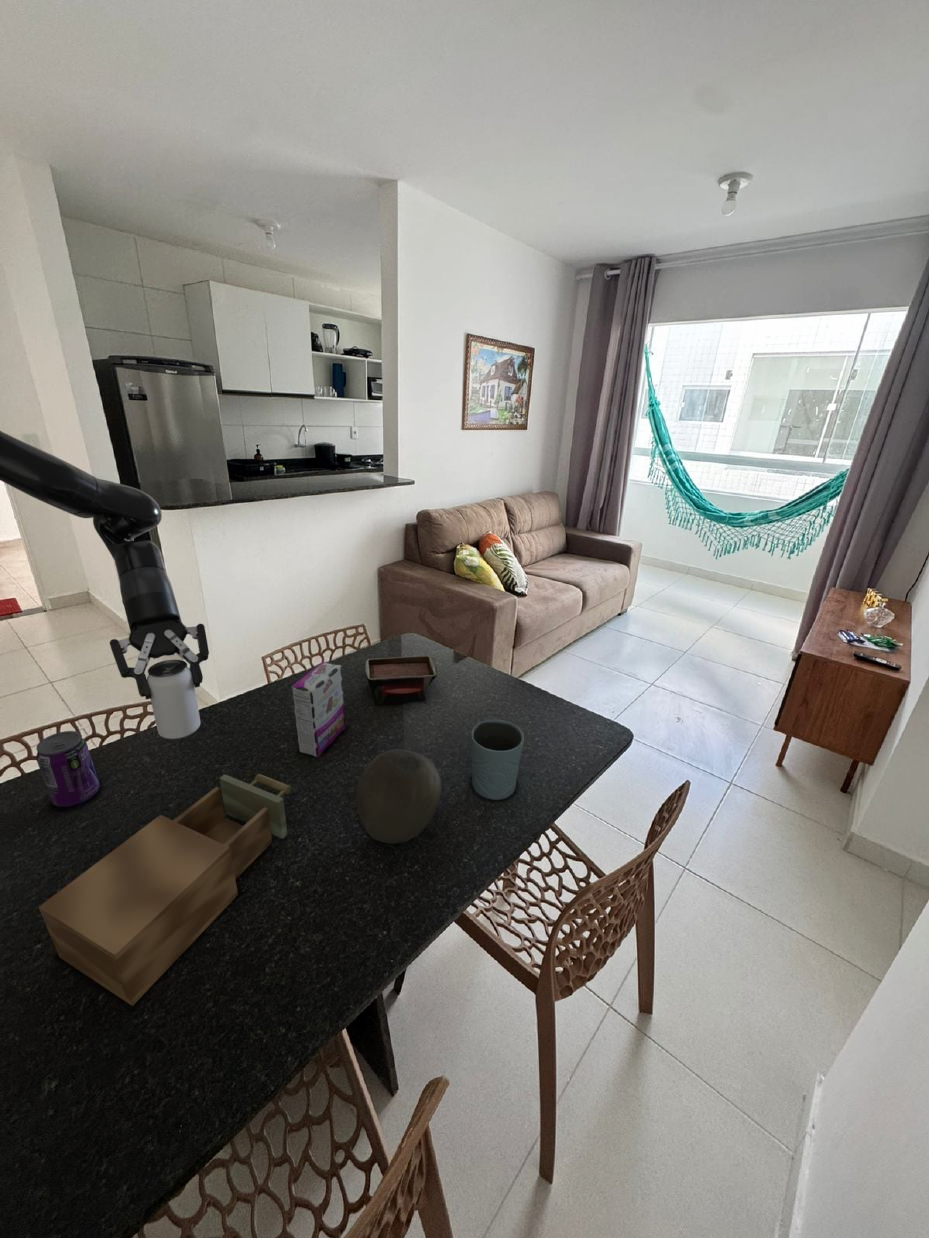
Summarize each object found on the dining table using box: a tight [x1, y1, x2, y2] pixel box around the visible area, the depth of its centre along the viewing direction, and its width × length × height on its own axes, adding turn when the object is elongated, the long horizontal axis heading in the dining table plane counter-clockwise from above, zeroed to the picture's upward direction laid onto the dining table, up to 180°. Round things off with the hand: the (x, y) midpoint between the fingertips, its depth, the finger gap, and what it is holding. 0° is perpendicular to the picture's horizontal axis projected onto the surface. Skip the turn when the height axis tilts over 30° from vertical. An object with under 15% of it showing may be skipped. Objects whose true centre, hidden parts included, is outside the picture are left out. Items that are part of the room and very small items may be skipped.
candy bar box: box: [291, 661, 347, 758], centre depth 108 cm, size 11×5×16 cm, turn 161°
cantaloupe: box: [355, 748, 443, 845], centre depth 87 cm, size 14×14×15 cm
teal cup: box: [470, 719, 525, 801], centre depth 99 cm, size 10×10×12 cm
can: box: [146, 659, 201, 740], centre depth 85 cm, size 6×6×12 cm
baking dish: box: [363, 654, 438, 706], centre depth 129 cm, size 14×18×10 cm
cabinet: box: [38, 814, 239, 1007], centre depth 70 cm, size 17×14×10 cm
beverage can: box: [35, 730, 100, 808], centre depth 90 cm, size 7×7×12 cm
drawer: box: [172, 773, 292, 881], centre depth 82 cm, size 20×13×8 cm, turn 157°
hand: (173, 691), depth 83 cm, fingers closed on can, 6 cm apart
